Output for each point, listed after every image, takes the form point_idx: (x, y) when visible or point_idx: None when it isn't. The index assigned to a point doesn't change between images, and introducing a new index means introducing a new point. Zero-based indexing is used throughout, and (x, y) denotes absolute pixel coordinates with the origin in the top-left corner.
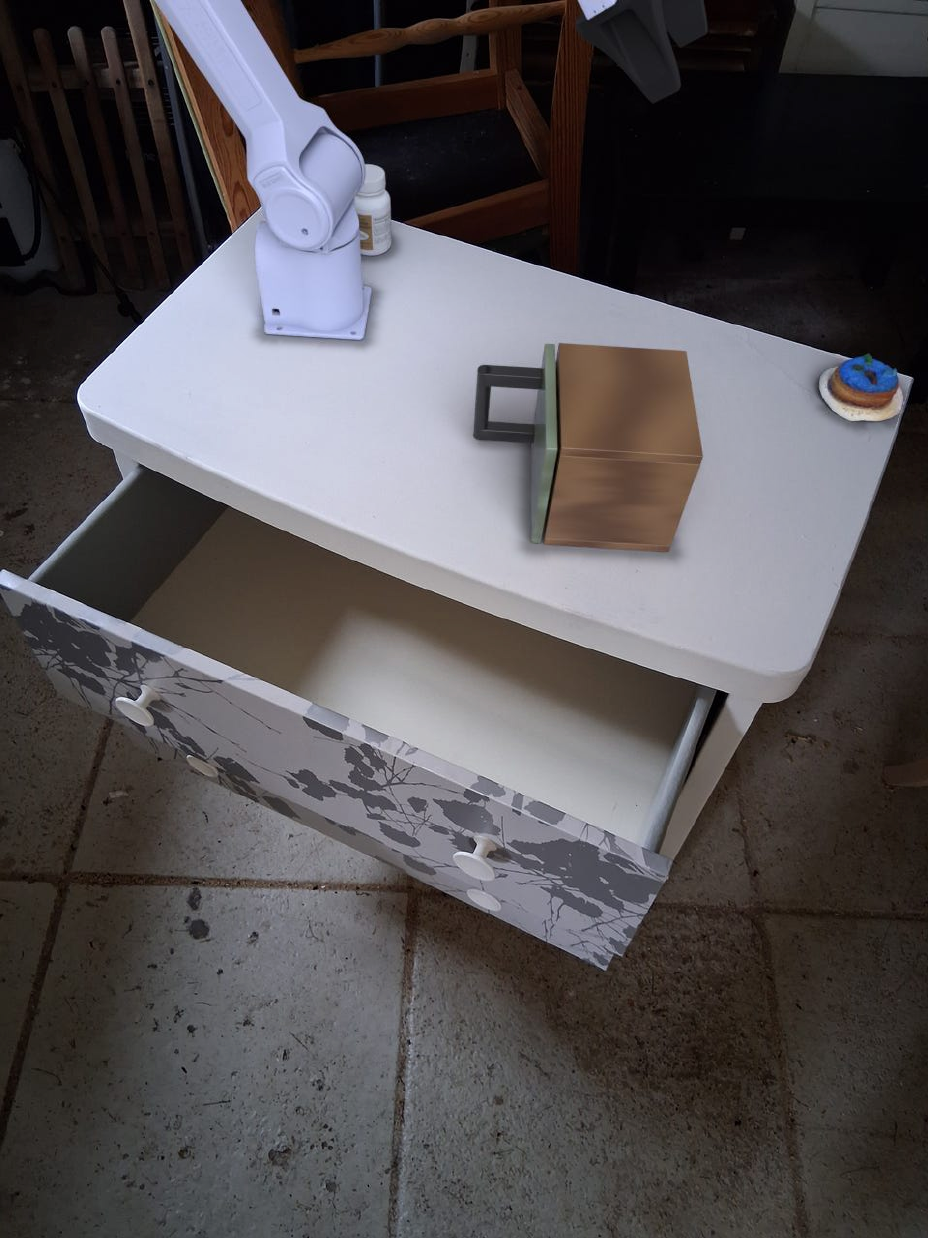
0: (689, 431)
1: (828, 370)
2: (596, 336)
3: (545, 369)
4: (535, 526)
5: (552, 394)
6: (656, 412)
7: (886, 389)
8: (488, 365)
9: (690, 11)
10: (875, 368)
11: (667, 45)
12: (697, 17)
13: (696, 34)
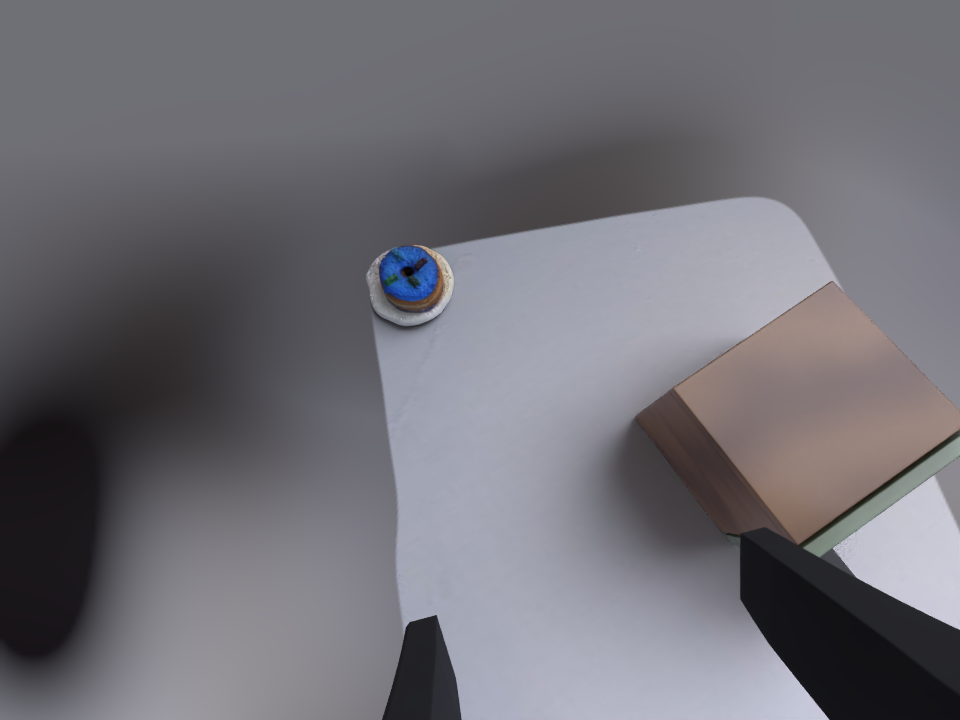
0: (809, 311)
1: (403, 320)
2: (502, 584)
3: (857, 529)
4: None
5: (893, 490)
6: (810, 360)
7: (422, 249)
8: None
9: (443, 710)
10: (397, 269)
11: (886, 609)
12: (440, 671)
13: (442, 645)
